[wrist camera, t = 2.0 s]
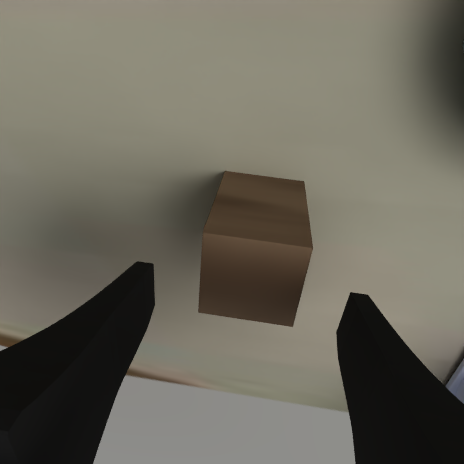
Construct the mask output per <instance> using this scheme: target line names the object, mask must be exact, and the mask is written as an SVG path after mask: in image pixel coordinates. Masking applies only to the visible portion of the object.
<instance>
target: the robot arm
mask: <svg viewBox="0 0 464 464" xmlns="http://www.w3.org/2000/svg"><path fill="white" fill-rule="evenodd" d="M154 306H155V293H154V265H153V264H152V263H145V262H138V261H137V262H136V263H134V264H133V265H132V266H131V267H130V268H128V269H127V270H126V271H125V272H124V273H123V274H121V275H120V276H119V277H118V278H117V279H115V280H114V281H113V282H112V283H111V284H109V285H108V286H107V287H106V288H104V289H103V290H102V291H100V292H99V293H98V294H97V295H95V296H94V297H93V298H91V299H90V300H89V301H87V302H86V303H84V304H83V305H82V306H80V307H79V308H77V309H76V310H75V311H73V312H72V313H70V314H69V315H67V316H66V317H64V318H62V319H61V320H59V321H58V322H56V323H54V324H53V325H51V326H49V327H47V328H46V329H44V330H42V331H40V332H38V333H36V334H34V335H32V336H30V337H29V338H27V339H25V340H23V341H21V342H19V343H17V344H15V345H13V346H11V347H8V348H6V349H4V350H2V351H0V464H93V462H94V458H95V456H96V452H97V450H98V447H99V443H100V441H101V438H102V435H103V431H104V429H105V426H106V423H107V420H108V417H109V415H110V412H111V409H112V406H113V403H114V400H115V398H116V395H117V392H118V390H119V388H120V386H121V383H122V381H123V378H124V377H125V375H126V373H127V370H128V368H129V366H130V364H131V362H132V360H133V358H134V356H135V354H136V352H137V349H138V347H139V345H140V343H141V341H142V339H143V337H144V334H145V332H146V330H147V327H148V325H149V322H150V319H151V315H152V312H153V309H154ZM336 334H337V350H338V360H339V365H340V371H341V376H342V381H343V386H344V391H345V395H346V400H347V405H348V410H349V415H350V420H351V426H352V433H353V442H354V451H355V462H356V464H464V359H463V361H462V362H461V364H460V365H459V367H458V368H457V370H456V371H455V373H454V374H453V376H452V377H451V379H450V380H449V382H448V383H447V385H446V386H444V385H443V384H442V383H441V382H440V381H439V380H438V379H437V378H436V377H435V376H434V375H433V374H432V373H431V372H430V371H429V370H428V369H427V368H426V366H425V365H424V364H423V363H422V362H421V361H420V360H419V359H418V358H417V356H416V355H415V354H414V353H413V352H412V351H411V350H410V348H409V347H408V346H407V345H406V344H405V342H404V341H403V340H402V339H401V338H400V336H399V335H398V334H397V333H396V331H395V330H394V329H393V327H392V326H391V325H390V324H389V322H388V321H387V320H386V318H385V317H384V316H383V314H382V313H381V312H380V310H379V309H378V308H377V306H376V305H375V304H374V302H373V301H372V300H371V298H370V297H369V296H368V295H366V294H359V293H352V292H350V295H349V298H348V301H347V304H346V306H345V309H344V312H343V315H342V318H341V321H340V323H339V326H338V329H337V332H336Z"/></svg>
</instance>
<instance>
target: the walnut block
mask: <svg viewBox="0 0 464 464" xmlns="http://www.w3.org/2000/svg"><path fill="white" fill-rule="evenodd" d="M312 250H313V245H312V237H311V230H310V222H309V214H308V207H307V199H306V192H305V184H304V181H296V180H289V179H281V178H274V177H266V176H259V175H251V174H243V173H236V172H228V171H225V173H224V175H223V178H222V181H221V184H220V186H219V189H218V192H217V195H216V197H215V200H214V203H213V206H212V208H211V211H210V214H209V217H208V220H207V222H206V225H205V228H204V231H203V238H202V256H201V273H200V291H199V309H198V312H199V313H206V314H212V315H219V316H225V317H232V318H238V319H245V320H251V321H258V322H264V323H271V324H277V325H284V326H290V327H293V324H294V320H295V316H296V312H297V308H298V304H299V301H300V297H301V293H302V289H303V285H304V281H305V277H306V273H307V269H308V266H309V262H310V258H311V254H312Z"/></svg>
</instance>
